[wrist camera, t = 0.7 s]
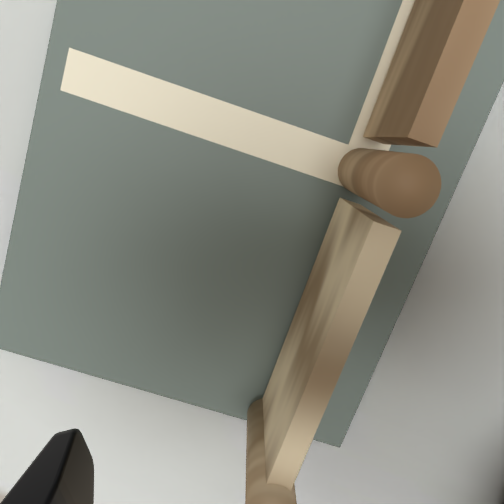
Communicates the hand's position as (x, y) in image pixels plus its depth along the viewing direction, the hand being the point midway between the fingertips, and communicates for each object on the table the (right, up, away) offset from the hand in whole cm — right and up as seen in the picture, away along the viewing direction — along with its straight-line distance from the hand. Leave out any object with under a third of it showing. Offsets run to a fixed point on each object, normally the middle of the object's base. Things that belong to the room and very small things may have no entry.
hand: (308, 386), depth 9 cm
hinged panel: (+1, -1, +13) cm, 13 cm away
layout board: (-1, +8, +11) cm, 14 cm away
